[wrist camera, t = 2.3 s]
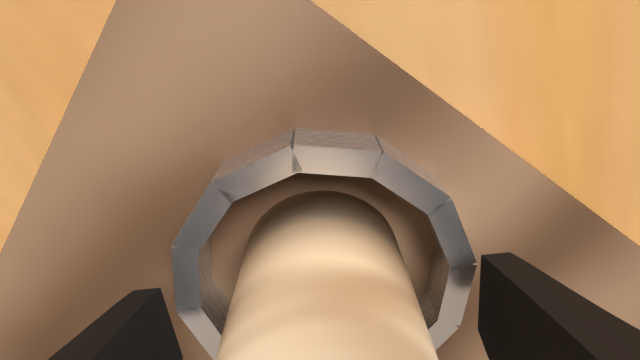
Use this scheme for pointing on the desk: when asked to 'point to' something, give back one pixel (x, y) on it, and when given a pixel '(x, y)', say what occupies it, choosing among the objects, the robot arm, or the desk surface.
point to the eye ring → (329, 159)
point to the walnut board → (237, 223)
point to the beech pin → (324, 287)
